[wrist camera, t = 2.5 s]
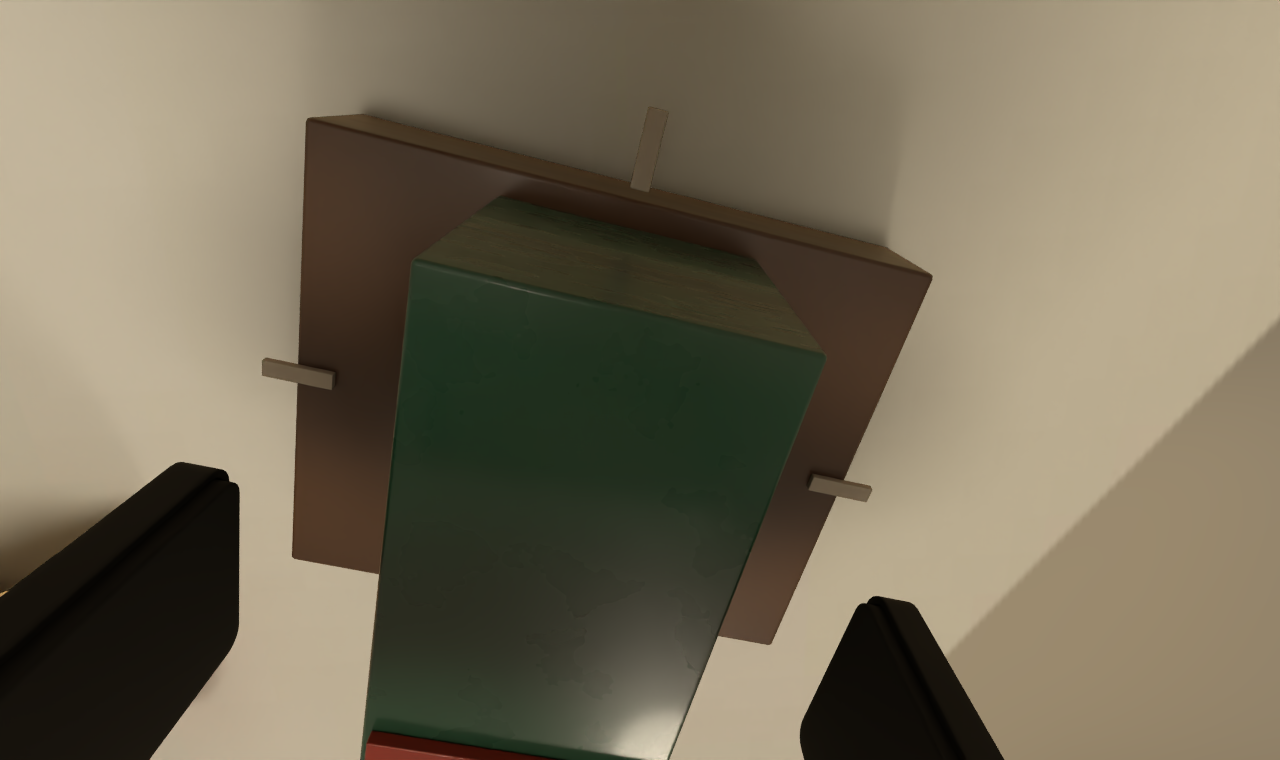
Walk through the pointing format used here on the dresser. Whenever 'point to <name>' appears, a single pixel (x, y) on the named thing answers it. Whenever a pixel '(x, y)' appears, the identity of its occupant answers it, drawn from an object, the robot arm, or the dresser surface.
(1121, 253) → the dresser surface
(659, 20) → the dresser surface
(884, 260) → the brown square board
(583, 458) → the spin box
